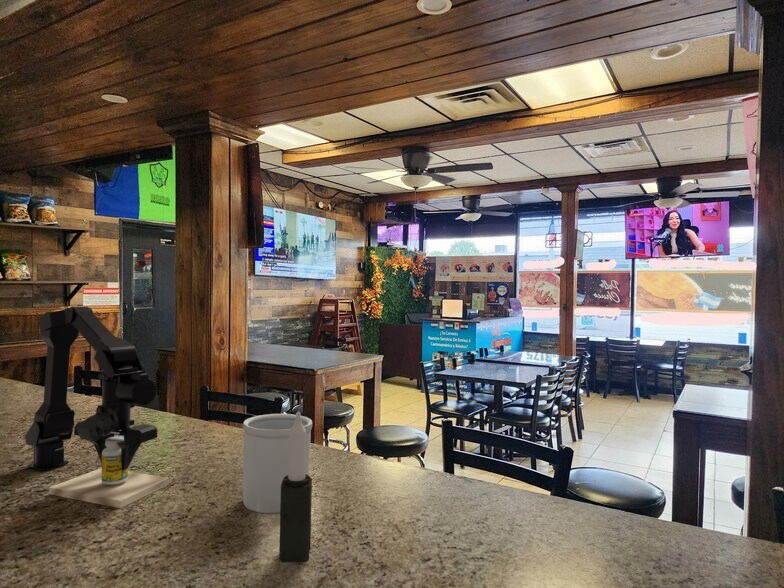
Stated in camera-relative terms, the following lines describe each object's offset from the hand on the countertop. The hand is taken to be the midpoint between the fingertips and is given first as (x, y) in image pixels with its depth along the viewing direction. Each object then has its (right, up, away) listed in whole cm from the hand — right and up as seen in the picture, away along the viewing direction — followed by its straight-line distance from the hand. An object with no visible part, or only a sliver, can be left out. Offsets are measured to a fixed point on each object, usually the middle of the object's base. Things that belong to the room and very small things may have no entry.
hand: (114, 468), depth 115 cm
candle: (+46, -6, -26) cm, 53 cm away
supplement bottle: (0, -3, 0) cm, 3 cm away
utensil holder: (+38, -6, -4) cm, 38 cm away
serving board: (-1, -5, 0) cm, 5 cm away
